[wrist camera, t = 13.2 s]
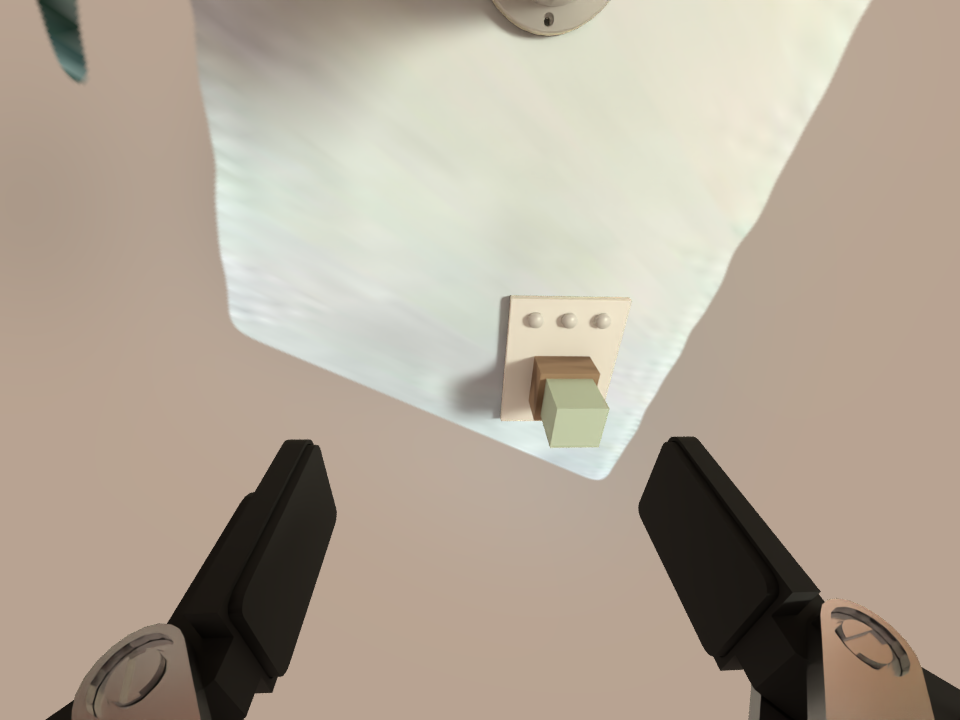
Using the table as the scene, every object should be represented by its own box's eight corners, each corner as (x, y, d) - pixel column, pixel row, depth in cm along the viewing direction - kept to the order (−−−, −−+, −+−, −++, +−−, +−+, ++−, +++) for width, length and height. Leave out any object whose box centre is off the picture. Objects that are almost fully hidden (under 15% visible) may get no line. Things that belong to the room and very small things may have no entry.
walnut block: (534, 355, 45) (540, 373, 41) (589, 356, 45) (600, 373, 42) (528, 400, 48) (533, 420, 45) (579, 400, 49) (588, 420, 45)
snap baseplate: (510, 295, 42) (512, 300, 40) (628, 297, 42) (634, 302, 41) (500, 416, 51) (501, 423, 49) (597, 415, 52) (601, 423, 50)
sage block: (546, 378, 42) (557, 408, 37) (592, 378, 42) (609, 408, 37) (540, 415, 45) (550, 447, 40) (583, 415, 45) (598, 447, 40)
